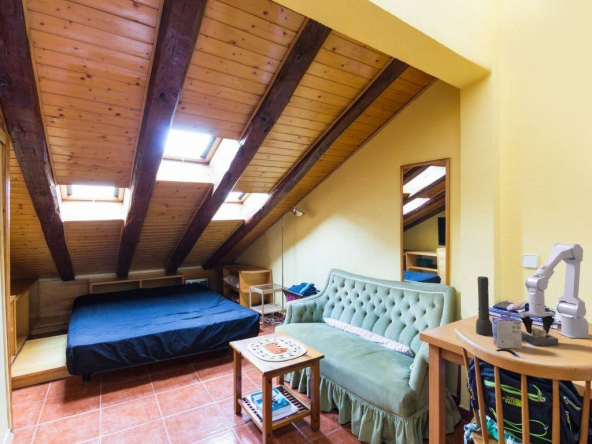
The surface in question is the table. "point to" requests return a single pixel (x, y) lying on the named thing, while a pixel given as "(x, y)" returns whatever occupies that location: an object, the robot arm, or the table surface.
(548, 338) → the cradle
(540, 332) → the birch block
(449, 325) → the table surface
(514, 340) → the ink cartridge box
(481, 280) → the flashlight
